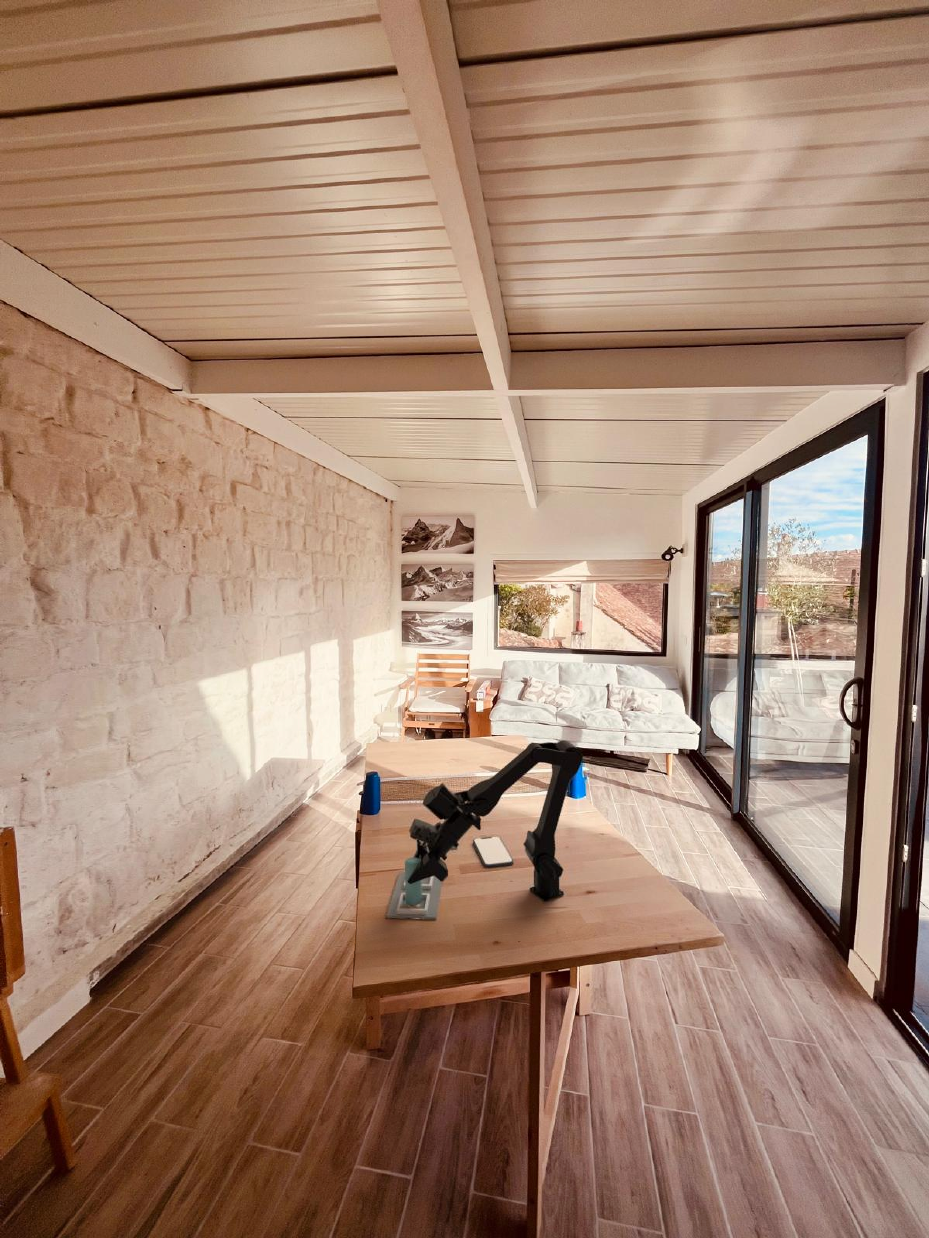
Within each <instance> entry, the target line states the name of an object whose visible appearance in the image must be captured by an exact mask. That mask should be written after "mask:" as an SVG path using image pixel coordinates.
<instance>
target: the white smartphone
mask: <svg viewBox="0 0 929 1238" xmlns="http://www.w3.org/2000/svg"><path fill="white" fill-rule="evenodd" d="M472 844H473V847H474V848H475V852H476V853H477V854H478V857H479V859H480V862H481V863H482V865H483V867H484V868H485V869H492V868H500V867H501V868H502V867H510V866H513V865H514V859H513V857H512V856H511V854H510V853H509V850H508V849H507V847H506V845H505V844H504V842H503V840H502V838H501V837H500V836H497V835H495V836H487V837H486V836H485V837H479V838H478V837H477V838H473V840H472Z"/></svg>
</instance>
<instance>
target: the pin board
mask: <svg viewBox="0 0 929 1238" xmlns="http://www.w3.org/2000/svg"><path fill="white" fill-rule="evenodd" d="M442 884H443V882H441V881H440V880H439V879H437V878H436V877H435V876H432V877H429V878H425V879H423V880H422V902H421V903H420V904H418V905H415V906H411V905H408V904H406V902H405V871H402V872H401V871H399V872H398V876H397V879H396V882H395V885H394V889H393V892H392V896H391V899H390V902H389V905H388V909H387V912H386V915H385V919H386V918H424V919H423V920H431V919H436V918H437V917H438V912H439V906H438V905H439V903H440V899H441V893H440V892H441V891H442V886H443V885H442ZM436 920H437V919H436Z"/></svg>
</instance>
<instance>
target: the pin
mask: <svg viewBox="0 0 929 1238" xmlns="http://www.w3.org/2000/svg"><path fill="white" fill-rule="evenodd" d="M419 863H420V859H419V858H415V857H414V856H412V857H408V858H406V859H405V860H404V872H405V902H406V904H408V905H411V906H415V905H418V904H420V903H421V902H422V880H420V881H417V882H415V883H412V884H409V883H408V882H407V880H408V879H409V877H410V876H411V874H412V873H413V871H414V870H415V869H416V867H417V866H418V865H419Z"/></svg>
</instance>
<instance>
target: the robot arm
mask: <svg viewBox="0 0 929 1238" xmlns="http://www.w3.org/2000/svg"><path fill="white" fill-rule="evenodd" d="M583 759H584V755H583V753H582V751H581V750H580V749H579V748H578V747H577V746H576V745H574V744H573V743H571V742H570V741H568V740H565V739H563V740H559V741H558V742H551V741H550V742H541V743H539V742H530V744H528V745H527V746H526V748H525V749H524V750H522V751H521V752H520V753H519V754H518V755H517V756H515V757H514V758H513V759H512V760H510V762H508V763H507V764H506V765H504V766H503V768H501V769H500V770H499V771H498V772H496V774H494V775H493V776H492V777H490V778H488V779H485V780H482V781H480V782H478V783H476V784H474V785H473V786H470V788H469V789H467V790H463V791H458V792H454V793H453V792H452V791H451V790H450V789H448V787H447V785H445V784H444V783H443V782H442V783H441V784H439V785H438V786H435V787H434V788H432V789H430V790H429V791H428V792H427V793H426V795H425V797H424V799H423V801H422V805H423V806H424V807H426V809H427V810H429V811H430V812H431V813H432V814H433V815H434V816H436V818H438V819H439V820H444V821H443V822H441V821H439V822H437V823H436V824H435V825H433V824H430V823H429V822H426V821H423V820H421V819H418V818H414V819H413V821H412V823H411V825H410V828H409V830H408V832H409V836H410V838H411V839H413V840H415V841H416V851H415V853H414V855H413V857H415V858H419V859H420V863H419V865H418V866H417V867H416V869H415V870H414V871H413V873H412V874H411V876H410V877H409V879H408V880H407V882H408V883H409V884H412V883H415V882H417V881H420V880H423V879H425V878H429V877H432V876H435V877H436V878H437V879H439V880H440V881H441V882H442V883H444V881H445V880H446V879H447V878H448V877H449V868H448V866H447V865H448V864H447V863H446V862H445V861H446V860H447V859H448V856H447V854H449V852H450V851H451V850H452V849H451V848H452V847H453V846H454V847H456V848H457V847H458V846H459V845H460V844H459V841H460V840H461V839H462V838H463V837H464V836H465V834H466V833H467V832H468V831H469V830H470V829H471V828H472V827H475V829H476V830H477V831H481V830H482V826H481V823H482V822H481V821H482V818H484V817H487V815H489V814H490V813H491V812H492V811H493V810H494V808H495V807H496V806H497V805H498V803H499V802H500V799H501V798H502V796H503V795H504V793H505V792H507V791H508V790H509V789H510V788H511V787H513V786H514V785H515V783H517V782H518V781H519V780H520V779H522V777H524V776H525V775H526V774H527V773H528V772H530V771H531V770H532V769H533V768H534V767H536V766H537V765H538V764H539V763H541V764H542V763H543V764H549V765H551V777H550V781H549V785H548V789H547V792H546V794H545V799H544V802H543V804H542V805H543V806H542V809H541V813H540V816H539V820H538V824H537V825H536V826H537V827H536V828H534V830H533V831H531V830H527V831H526V838H525V841H524V842H523V846H524V852H525V854H526V856H527V857H528V859H529V860H530V862H531V864H532V865H533V869H534V870H533V886H531V887H529V891H530V892H531V893H532V894H534V895H535V896H536V897H537V898H538V899H540V900H542V901H543V902H545V903H546V902H549V901H552V900H553V899H557V898H559V897H562V896H564V894H565V892H564V891H563V890H562V889H560V878H561V877H562V875H563V872H564V868H563V866H562V865H561V864H560V863H559V861H558V859H556V849H557V848H556V831H557V828H558V824H559V820H560V816H561V813H562V810H563V806H564V804H565V799H566V796H567V793H568V789H569V785H570V782H571V781H572V780H573V778H574V777H575V776H576V775H577V774H578V772H579V770H580V767H581V765H582V763H583ZM481 817H482V818H481Z"/></svg>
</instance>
